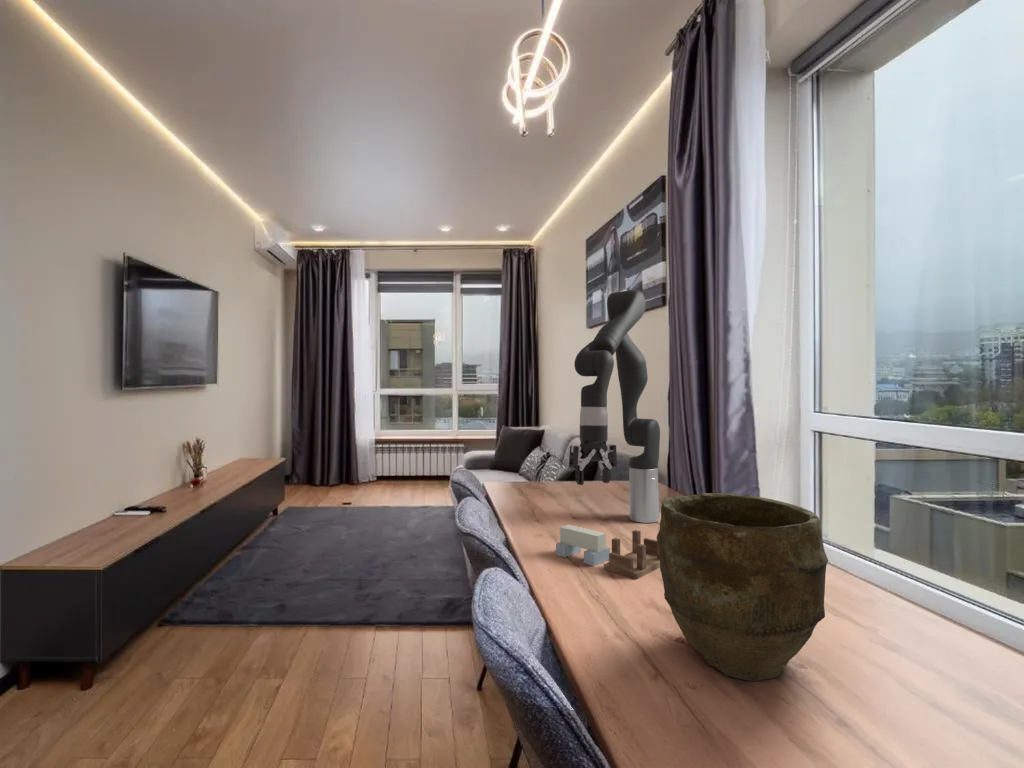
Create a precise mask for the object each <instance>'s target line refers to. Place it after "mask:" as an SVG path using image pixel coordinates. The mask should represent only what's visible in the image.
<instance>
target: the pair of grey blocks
mask: <svg viewBox="0 0 1024 768" xmlns="http://www.w3.org/2000/svg"><path fill="white" fill-rule="evenodd" d="M610 549H611V548H610V547H609V546H606V549H605V550H603V551H600V552H594V551H591V550H587V549H585V550H584V551H583V564H584V563H586V564H585V565H588V564H589V565H588V566H591V565H592V566H591V567H595V565H596V566H598V565H600V564H602V563H604V561H605V562H607V561H609V553H611V550H610ZM580 551H581V552H582V548H580V547H576V546H572V545H569V544H565V543H562V542H560V541H559V542H557V543H556V542H555V555H556V556H557V555H559V556H558V557H561V556H562V557H561V558H564V557H566V558H568V557H571V556H573V555H576V554H578V553H581V552H580ZM577 552H578V553H577ZM575 553H576V554H575ZM572 554H573V555H572ZM570 555H571V556H570ZM567 556H568V557H567ZM606 560H607V561H606ZM601 562H602V563H601ZM599 563H600V564H599ZM597 564H598V565H597Z"/></svg>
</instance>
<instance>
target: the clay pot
mask: <svg viewBox="0 0 1024 768" xmlns="http://www.w3.org/2000/svg"><path fill="white" fill-rule="evenodd" d="M660 506H661V507H660V520H659V530H658V532H657V535H656V540H657V543H658V550H659V557H660V567H659V568H660V574H661V578H662V584H663V590H664V592H663V596H664V599H665V601H666V603H667V604H668V606H669V608H670V610H671V614H672V615H673V618H674V620H675V622H676V624H677V626H678V627H679V629H680V631H681V633H682V635H683V636H684V638H685V640H686V641H687V643H688V644H689V645H690V646H692V647H693V649H694V650H695V651H696V652H697V653H698V654H699V655H700V656H702V657H703V659H704V661H705V662H707V664H708V665H709V667H711V666H712V667H714V668H717V669H718V670H719V671H720V672H721V673H723V674H724V675H725V677H730V678H734V679H738V680H744V681H752V682H753V681H755V682H759V681H762V680H768V679H775V678H779V676H780V674H781V673H782V670H783V668H784V667H787V665H788V663H789V661H791V660H792V659H793V658H794V657H795V656H796V655H798V653H799V652H800V651H801V650H802V648H803V647H804V646H805V645H806V644H807V642H808V641H809V639H811V637H812V635H813V632H814V630H815V628H816V626H817V624H819V622H820V621H822V620H823V619H824V618H825V617H826V613H825V612H826V610H825V595H826V594H825V593H826V591H825V590H826V575H827V574H826V573H827V572H826V571H827V565H828V562H829V559H828V556H827V554H826V551H825V547H824V541H823V533H822V531H823V530H822V526H821V520H820V518H819V516H818V515H817V514H816V512H815V513H814V512H813V511H811V510H809V509H806V508H804V507H802V506H798V505H796V504H791V503H788V502H785V501H781V500H776V499H772V498H767V497H761V496H756V495H753V494H745V495H741V494H739V493H717V492H714V493H713V492H708V493H705V492H700V493H699V494H690V495H681V496H680V495H678V496H677V495H676V496H672V497H670V496H667V497H664V498H663V499H662V500H661V505H660Z"/></svg>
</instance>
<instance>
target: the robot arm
mask: <svg viewBox="0 0 1024 768" xmlns="http://www.w3.org/2000/svg"><path fill="white" fill-rule="evenodd" d="M606 301H607V302H606V307H607V308H606V309H607V314H608V320H609V321H608V322H606V323H605V324H604V325H603V326H602V327H601V328H600V329H599V330H598V332H597V334H596V335H595V336H594V338H593V340H592V341H590V342H588V343H587V344H586V345H585V346H584V347H582V349H581V350H580V351H579V352H578V353H577V355H576V357H575V359H574V365H573V366H574V369H575V372H576V373H577V374H578V375H579V376H581V377H584V378H585V377H596V379H595V381H594V382H593V383H592V384H588V385H584V386H582V387H581V390H580V413H579V440H580V445H579V446H578V445H570V447H569V459H568V467H569V468H570V469H574V471H575V483H576V484H577V485H578V486H583V485H584V484H585V483H584V482H585V479H584V478H585V477H584V475H585V474H584V473H585V472H584V469H585V467H586V465H588V464H589V463H590V462H598V463H600V465H601V467H602V472H601V473H602V477H601V479H602V483H605V484H609V483H610V481H611V479H612V478H611V475H612V474H611V473H612V472H611V470H612V468H614V467H615V468H616V467H617V465H618V458H617V445H616V444H610V443H609V444H607V442H608V438H609V436H608V434H609V433H608V431H609V429H608V427H609V425H608V424H609V423H608V421H609V420H608V419H609V417H608V408H607V407H608V405H607V404H608V389H609V384H610V381H611V378H612V374H613V372H614V371H613V370H614V367H615V361H614V355H615V358H616V359H615V360H616V369H617V376H618V378H617V379H618V383H619V388H620V389H619V390H620V397H621V405H622V406H621V407H622V408H621V410H622V429H623V431H622V432H623V436H624V440H625V442H626V444H627V445H629V446H634V447H641V448H643V451H642V452H643V453H641V454H638V455H636V456H632V457H631V458H630V459H628V460H629V461H628V463H629V464H628V465H629V467H628V468H629V473H628V475H629V477H628V480H629V483H628V484H629V489H628V490H629V496H628V497H629V520H631V521H632V522H637V523H643V524H644V523H647V524H650V523H657V522H658V521H659V519H660V490H659V461H660V460H659V459H660V443H661V442H660V441H661V428H660V424H659V423H658V420H656V419H652V418H638V415H637V413H638V412H637V411H638V410H637V409H638V402H639V399H640V398H641V396H642V394H643V392H644V390H645V388H646V385H647V384H648V379H649V376H648V368H647V361H646V357H645V356H644V354H643V353H642V351H641V350H640V348H639V347H638V346H637V345H636V344H635V343H634V342H633V340H632V338H631V337H630V335H629V334H628V333H629V332H630V331H631V330H632V328H633V327H635V325H636V324H637V323H638V322H639V321H640V319H642V317H643V315H644V314H645V312H646V298H645V295H644V294H643V292H642V291H641V290H638V289H631V290H630V289H629V290H623V291H622V290H621V291H616V292H612V293H609V295H608V296H607V300H606ZM580 453H581V454H580ZM606 453H607V455H606ZM579 454H580V455H579Z"/></svg>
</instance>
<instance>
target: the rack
mask: <svg viewBox="0 0 1024 768" xmlns="http://www.w3.org/2000/svg"><path fill="white" fill-rule="evenodd" d="M631 535H632V539H631V541H632V547H631V548H632V549H631V550H632V551H631V552H628V553H626V554H624V555H622V554H621V538H618V537H613V538H611V551H610V553H609V560H608V562H606V563H604V564H603V570H604V569H605V571H608V572H612V573H614V572H615V574H618V575H622V576H625V577H628V578H632V579H635V580H638V579H640V578H642V577H645V575H647V574H649V573H651V572H653V571H655V570H657V569H659V568H660V557H659V550H658V543H657V539H656V540H655V539H651V538H647V537H645V538H643V544H641V541H642V539H641V538H642V537H641V530H638V529H634V530H632V533H631Z"/></svg>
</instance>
